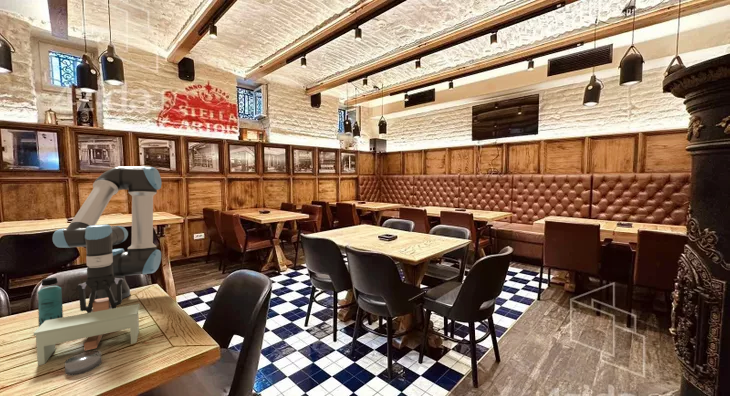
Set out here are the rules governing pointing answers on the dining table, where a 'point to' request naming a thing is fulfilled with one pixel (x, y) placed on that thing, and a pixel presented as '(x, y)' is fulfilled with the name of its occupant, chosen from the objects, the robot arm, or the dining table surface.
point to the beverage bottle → (49, 301)
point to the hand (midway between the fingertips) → (102, 324)
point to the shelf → (85, 328)
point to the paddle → (94, 340)
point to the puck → (83, 362)
